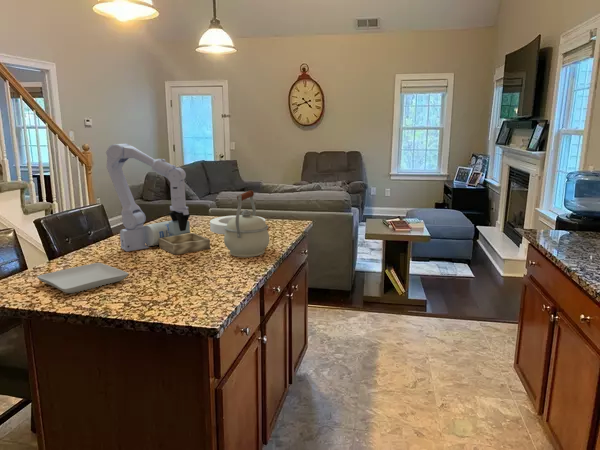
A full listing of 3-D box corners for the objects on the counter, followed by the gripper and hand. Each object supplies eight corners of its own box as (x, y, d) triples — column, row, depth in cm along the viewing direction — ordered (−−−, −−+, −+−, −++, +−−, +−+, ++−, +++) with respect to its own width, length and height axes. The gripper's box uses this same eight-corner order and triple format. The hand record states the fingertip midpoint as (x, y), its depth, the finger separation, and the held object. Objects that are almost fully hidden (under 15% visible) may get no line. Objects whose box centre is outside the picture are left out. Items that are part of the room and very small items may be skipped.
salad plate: (99, 269, 161) (98, 260, 161) (131, 282, 148) (130, 272, 147) (36, 285, 145) (35, 275, 145) (65, 300, 132) (64, 289, 131)
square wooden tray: (174, 254, 179) (173, 245, 178) (159, 247, 191) (158, 238, 191) (210, 248, 189) (209, 239, 188) (193, 241, 201) (193, 232, 200)
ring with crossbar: (231, 222, 247) (230, 213, 246) (275, 226, 235) (275, 217, 234) (198, 232, 222) (198, 222, 221) (246, 237, 210) (246, 227, 209)
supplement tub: (185, 234, 199) (157, 241, 188) (175, 243, 205) (147, 250, 194) (176, 215, 201) (148, 221, 189) (166, 225, 207) (138, 231, 195)
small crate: (174, 235, 183) (173, 223, 182) (169, 233, 187) (168, 221, 186) (190, 233, 187) (189, 221, 186) (185, 231, 191) (184, 219, 190)
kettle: (261, 261, 170) (259, 196, 165) (216, 258, 174) (213, 195, 168) (277, 245, 194) (276, 188, 189) (237, 243, 198) (235, 187, 192)
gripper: (194, 198, 181) (196, 230, 184) (180, 194, 192) (182, 225, 195) (178, 200, 177) (180, 233, 179) (164, 196, 188) (166, 227, 191)
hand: (180, 229), depth 187 cm, fingers closed on small crate, 5 cm apart
